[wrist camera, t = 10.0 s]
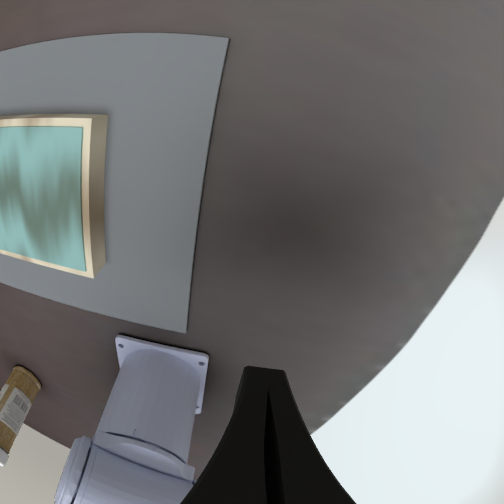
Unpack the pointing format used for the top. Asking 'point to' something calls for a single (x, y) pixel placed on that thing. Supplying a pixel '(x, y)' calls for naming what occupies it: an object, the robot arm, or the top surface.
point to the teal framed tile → (53, 190)
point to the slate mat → (128, 161)
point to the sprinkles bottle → (15, 406)
